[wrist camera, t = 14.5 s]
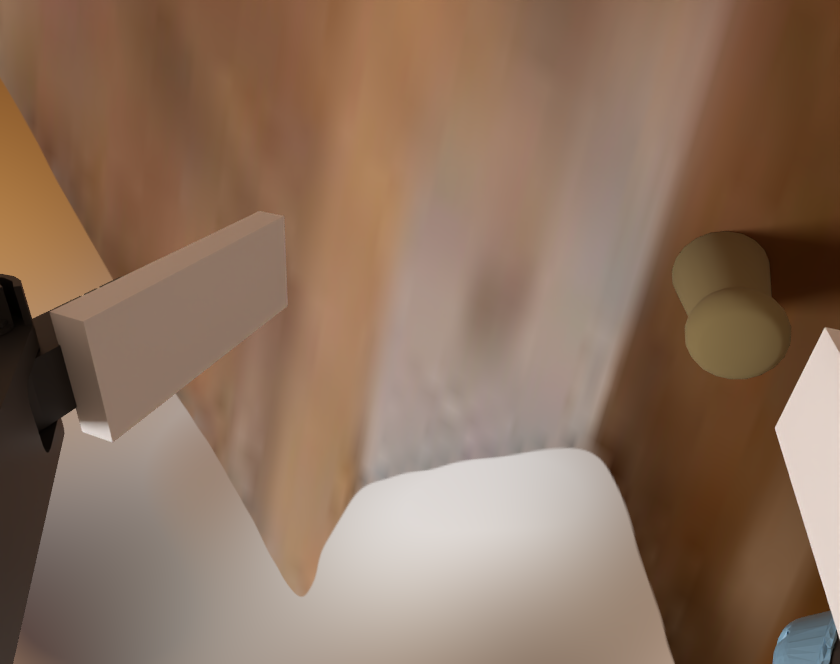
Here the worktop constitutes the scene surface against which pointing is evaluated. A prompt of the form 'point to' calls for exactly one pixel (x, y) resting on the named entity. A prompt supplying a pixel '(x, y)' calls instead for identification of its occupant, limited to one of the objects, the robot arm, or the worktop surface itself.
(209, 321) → the robot arm
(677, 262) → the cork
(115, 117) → the worktop surface
